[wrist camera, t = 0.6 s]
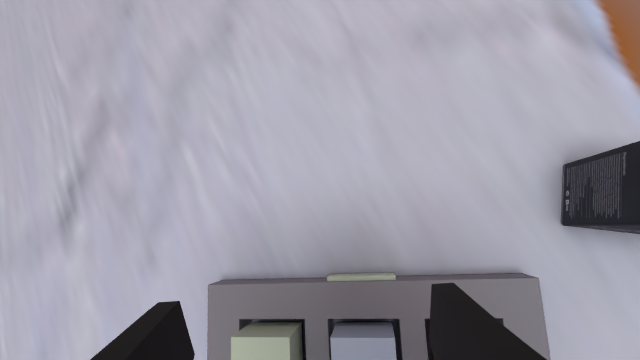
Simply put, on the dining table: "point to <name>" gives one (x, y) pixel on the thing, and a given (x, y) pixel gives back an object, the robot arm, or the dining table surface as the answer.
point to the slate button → (363, 341)
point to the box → (604, 191)
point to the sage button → (268, 341)
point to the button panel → (369, 307)
